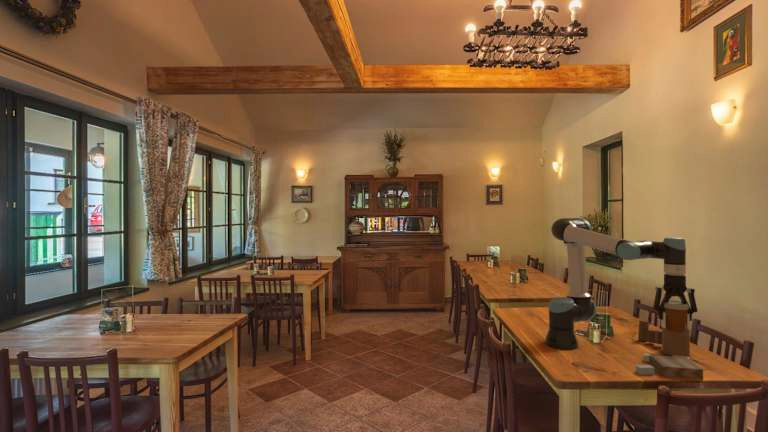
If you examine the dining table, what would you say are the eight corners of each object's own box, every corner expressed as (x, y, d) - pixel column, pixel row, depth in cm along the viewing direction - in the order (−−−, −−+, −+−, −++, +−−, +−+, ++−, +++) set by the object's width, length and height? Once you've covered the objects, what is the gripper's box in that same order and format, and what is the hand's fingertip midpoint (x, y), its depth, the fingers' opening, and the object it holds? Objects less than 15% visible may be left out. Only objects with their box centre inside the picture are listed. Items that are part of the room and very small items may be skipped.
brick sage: (643, 361, 180) (643, 355, 180) (644, 359, 182) (644, 353, 182) (659, 364, 176) (659, 358, 176) (660, 362, 178) (660, 356, 178)
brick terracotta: (673, 363, 178) (673, 356, 178) (672, 361, 180) (672, 354, 180) (690, 365, 175) (690, 359, 175) (689, 363, 177) (689, 357, 177)
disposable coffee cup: (692, 335, 162) (692, 305, 162) (665, 332, 165) (665, 304, 165) (684, 328, 171) (684, 301, 171) (658, 326, 174) (658, 299, 174)
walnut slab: (663, 376, 163) (663, 366, 163) (649, 363, 177) (649, 354, 177) (703, 379, 160) (703, 369, 160) (685, 366, 173) (685, 357, 173)
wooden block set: (667, 348, 197) (669, 327, 197) (648, 346, 198) (650, 325, 199) (649, 338, 215) (651, 319, 215) (632, 336, 216) (633, 317, 216)
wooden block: (690, 359, 182) (689, 315, 182) (663, 355, 187) (663, 312, 187) (687, 352, 191) (687, 311, 191) (662, 349, 196) (661, 308, 196)
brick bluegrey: (640, 375, 165) (640, 367, 165) (635, 372, 168) (635, 365, 168) (654, 374, 165) (654, 367, 165) (649, 372, 168) (649, 364, 168)
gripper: (650, 274, 167) (650, 328, 167) (708, 276, 162) (708, 332, 162) (643, 272, 174) (643, 324, 174) (698, 273, 169) (698, 327, 169)
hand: (674, 327), depth 168 cm, fingers closed on disposable coffee cup, 8 cm apart
